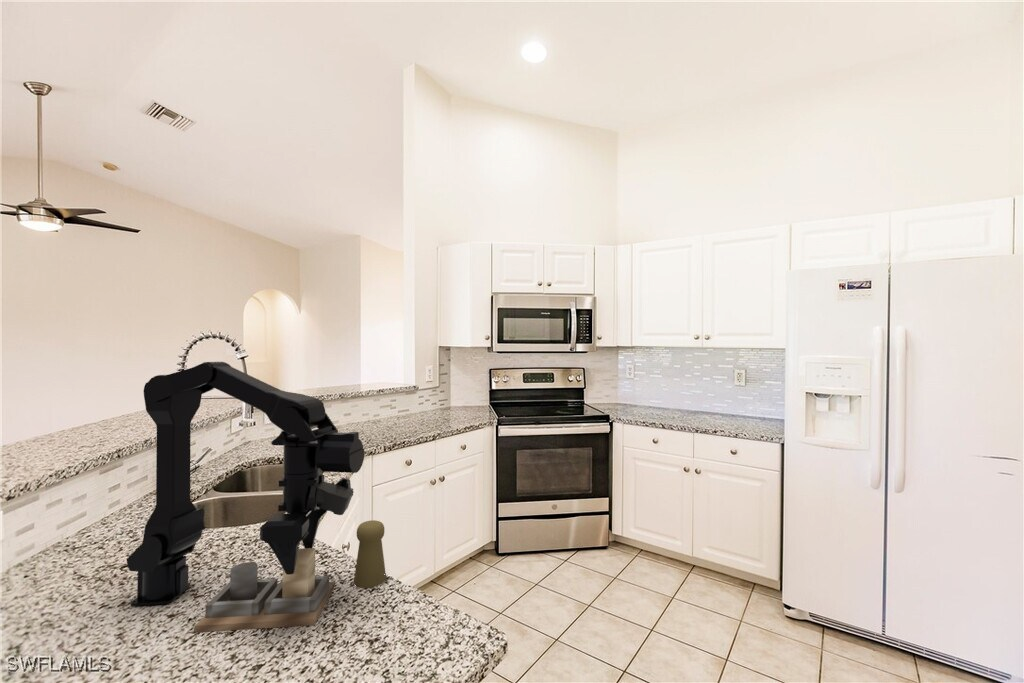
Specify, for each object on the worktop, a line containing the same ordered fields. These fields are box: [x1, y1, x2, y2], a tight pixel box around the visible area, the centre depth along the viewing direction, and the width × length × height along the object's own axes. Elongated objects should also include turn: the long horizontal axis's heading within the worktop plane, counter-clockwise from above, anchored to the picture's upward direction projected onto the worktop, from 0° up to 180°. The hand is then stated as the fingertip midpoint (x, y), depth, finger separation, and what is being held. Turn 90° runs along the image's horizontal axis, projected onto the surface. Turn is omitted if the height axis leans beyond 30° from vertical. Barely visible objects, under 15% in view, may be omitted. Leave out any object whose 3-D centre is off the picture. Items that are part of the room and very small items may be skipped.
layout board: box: [194, 561, 336, 633], centre depth 78 cm, size 18×12×7 cm, turn 97°
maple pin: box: [282, 547, 316, 598], centre depth 79 cm, size 4×4×8 cm
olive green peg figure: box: [353, 520, 387, 589], centre depth 88 cm, size 6×6×11 cm
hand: (300, 561), depth 79 cm, fingers open, 9 cm apart
